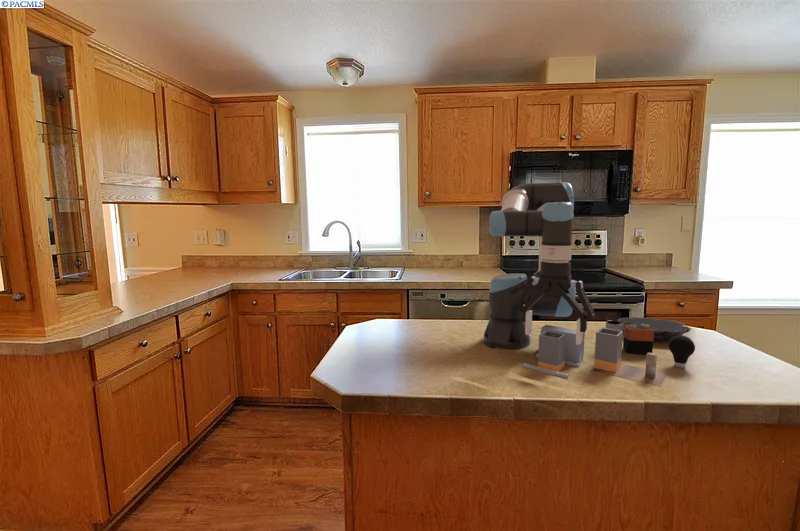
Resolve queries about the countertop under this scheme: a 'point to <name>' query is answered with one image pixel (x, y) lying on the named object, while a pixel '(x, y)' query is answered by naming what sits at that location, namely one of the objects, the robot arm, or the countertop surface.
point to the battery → (638, 339)
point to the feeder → (572, 350)
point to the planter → (614, 325)
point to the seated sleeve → (608, 349)
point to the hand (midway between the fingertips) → (552, 338)
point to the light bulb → (681, 349)
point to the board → (658, 327)
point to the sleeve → (552, 350)
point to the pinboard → (639, 372)
